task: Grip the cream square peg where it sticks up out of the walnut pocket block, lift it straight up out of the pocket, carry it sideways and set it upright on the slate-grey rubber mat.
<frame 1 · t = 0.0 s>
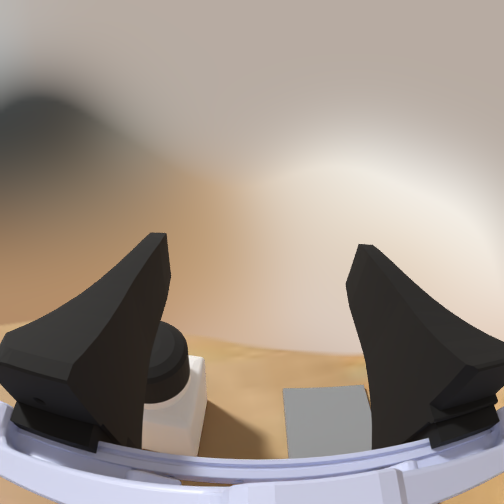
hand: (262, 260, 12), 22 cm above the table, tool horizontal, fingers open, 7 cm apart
white bottle: (166, 422, 26), on the table
mat: (330, 425, 27), on the table
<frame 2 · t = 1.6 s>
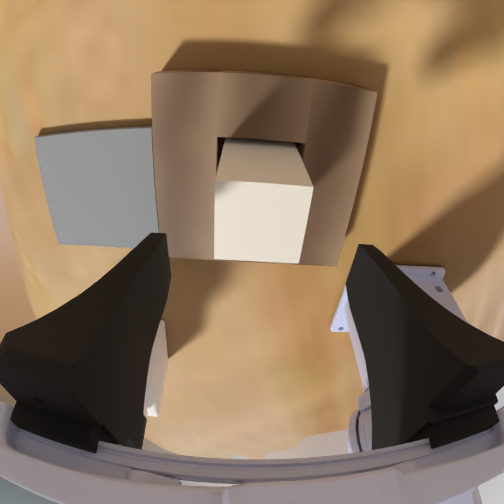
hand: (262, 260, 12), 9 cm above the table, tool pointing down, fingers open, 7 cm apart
white bottle: (133, 334, 30), on the table
pocket block: (257, 166, 19), on the table
peg: (258, 190, 16), in the pocket block
mat: (97, 190, 20), on the table
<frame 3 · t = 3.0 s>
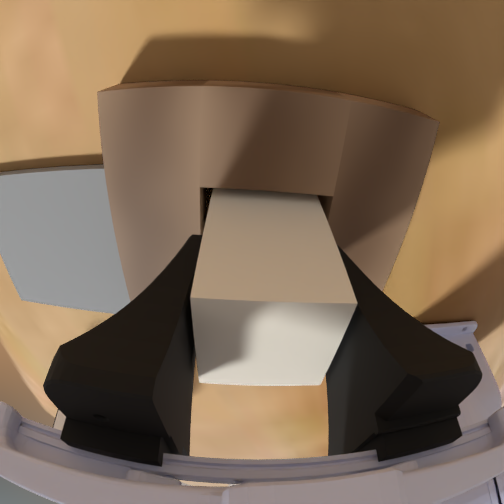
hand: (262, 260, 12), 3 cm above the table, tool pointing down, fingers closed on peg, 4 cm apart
pocket block: (260, 219, 14), on the table
peg: (263, 270, 11), in the pocket block, touching gripper
mat: (54, 244, 15), on the table
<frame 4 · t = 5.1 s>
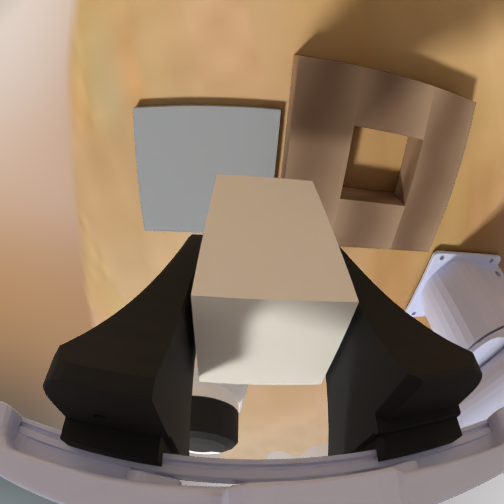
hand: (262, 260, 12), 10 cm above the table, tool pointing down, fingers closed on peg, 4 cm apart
white bottle: (209, 328, 30), on the table
pocket block: (372, 157, 19), on the table
peg: (264, 269, 11), point 11 cm above the table, touching gripper
mat: (204, 171, 20), on the table
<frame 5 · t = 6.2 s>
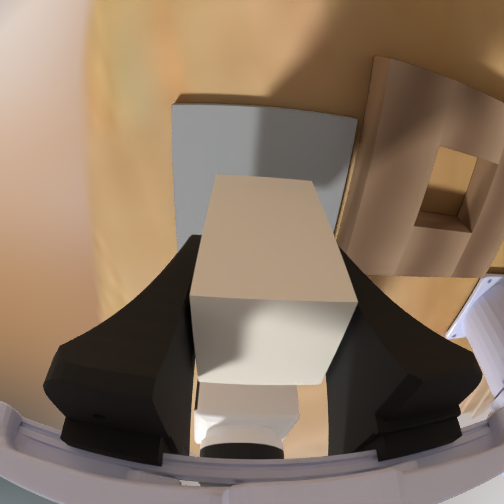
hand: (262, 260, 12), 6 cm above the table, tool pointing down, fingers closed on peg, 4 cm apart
white bottle: (242, 358, 26), on the table
pocket block: (442, 178, 16), on the table
peg: (263, 269, 11), point 7 cm above the table, touching gripper
mat: (258, 188, 17), on the table
when the fingers open (5 cm above the table, at t = 7.3 s): peg drops 1 cm, resting on mat.
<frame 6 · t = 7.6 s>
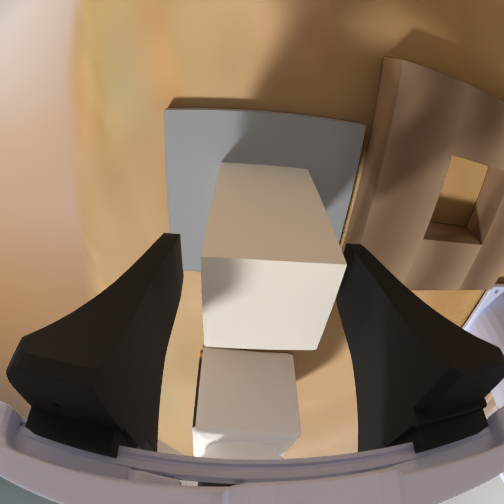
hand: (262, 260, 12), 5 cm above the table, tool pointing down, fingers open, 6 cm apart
white bottle: (242, 370, 25), on the table
pocket block: (452, 188, 15), on the table
peg: (263, 245, 12), on the mat
mat: (259, 199, 16), on the table
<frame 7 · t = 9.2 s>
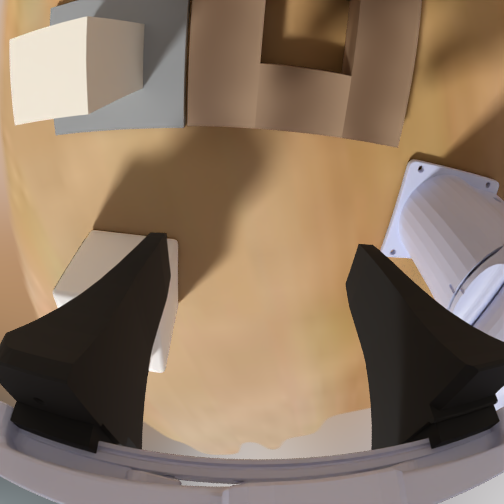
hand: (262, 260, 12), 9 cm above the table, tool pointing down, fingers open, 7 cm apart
white bottle: (136, 267, 24), on the table
pocket block: (305, 28, 14), on the table
peg: (84, 64, 11), on the mat
mat: (114, 59, 15), on the table
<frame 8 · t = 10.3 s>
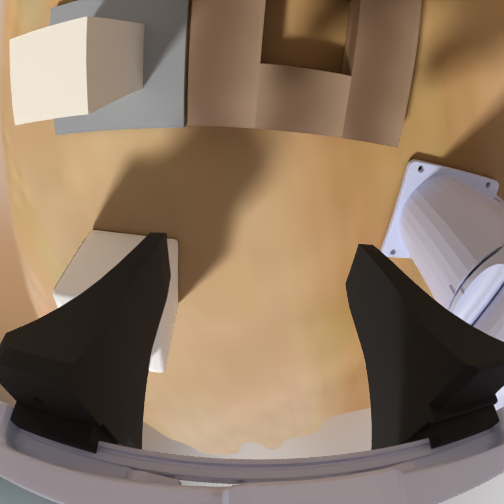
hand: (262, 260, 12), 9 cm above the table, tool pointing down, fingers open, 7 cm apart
white bottle: (136, 267, 24), on the table
pocket block: (305, 28, 14), on the table
peg: (84, 64, 11), on the mat
mat: (114, 59, 15), on the table
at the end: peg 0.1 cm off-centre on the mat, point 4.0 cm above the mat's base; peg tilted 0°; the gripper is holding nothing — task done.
